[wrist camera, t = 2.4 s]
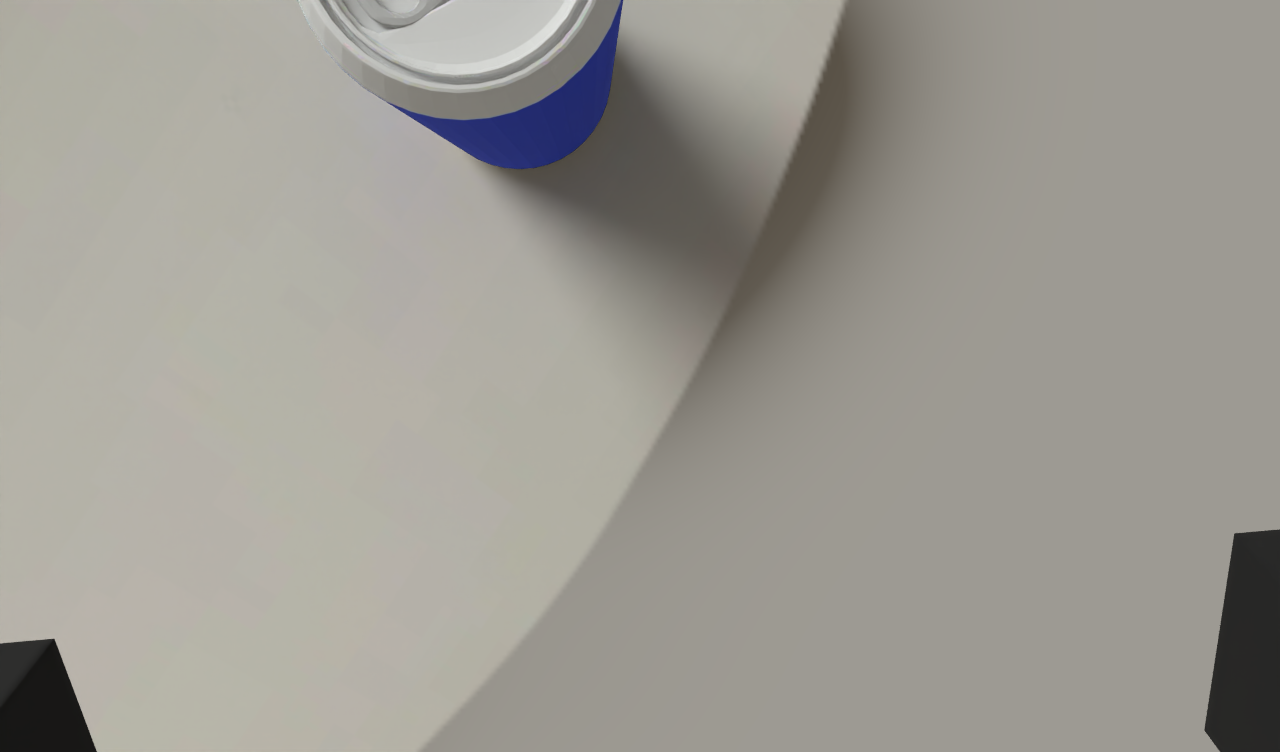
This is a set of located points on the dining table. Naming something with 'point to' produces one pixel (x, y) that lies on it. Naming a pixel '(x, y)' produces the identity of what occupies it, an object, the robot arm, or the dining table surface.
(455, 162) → the dining table surface
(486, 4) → the beverage can
